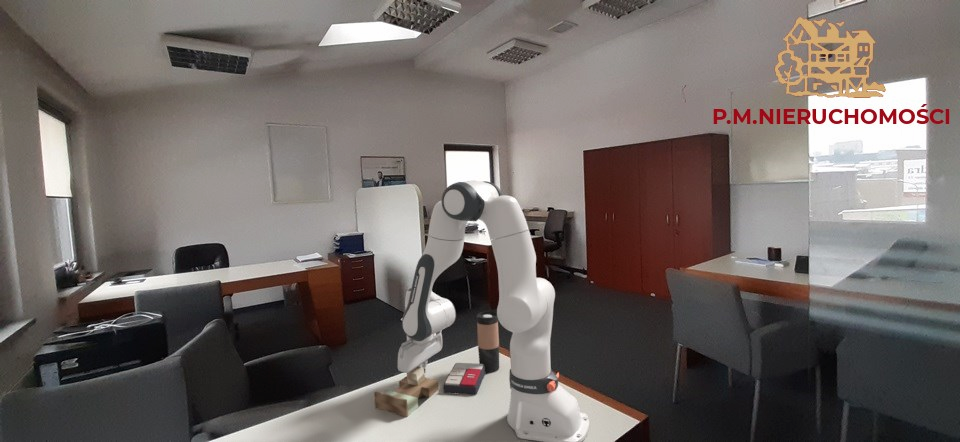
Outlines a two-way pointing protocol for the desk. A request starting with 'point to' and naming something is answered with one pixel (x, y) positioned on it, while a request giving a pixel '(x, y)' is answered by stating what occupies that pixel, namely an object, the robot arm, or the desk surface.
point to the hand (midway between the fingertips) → (422, 373)
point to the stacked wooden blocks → (406, 396)
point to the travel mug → (488, 340)
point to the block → (416, 376)
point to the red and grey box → (465, 378)
